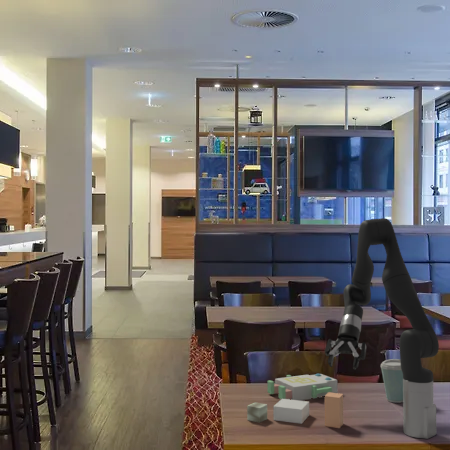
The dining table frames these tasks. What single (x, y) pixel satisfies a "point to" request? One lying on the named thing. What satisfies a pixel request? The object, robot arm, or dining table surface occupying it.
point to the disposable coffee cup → (393, 380)
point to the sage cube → (257, 412)
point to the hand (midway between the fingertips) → (342, 366)
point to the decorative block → (302, 386)
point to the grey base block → (291, 411)
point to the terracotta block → (333, 410)
